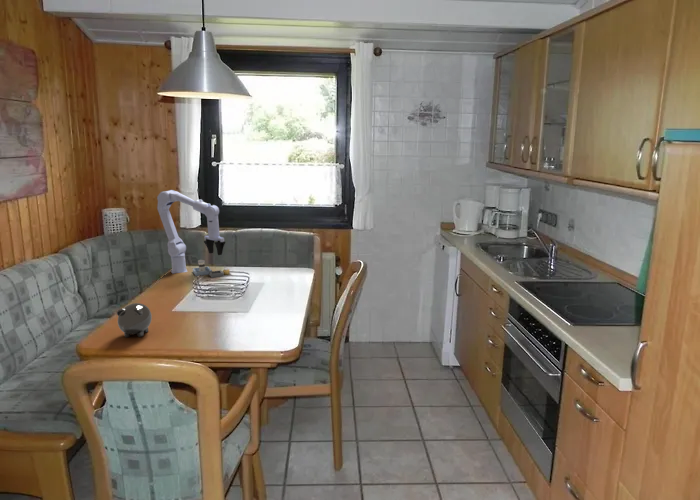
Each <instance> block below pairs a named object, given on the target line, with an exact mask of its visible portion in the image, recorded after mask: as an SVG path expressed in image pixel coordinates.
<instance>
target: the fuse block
mask: <svg viewBox="0 0 700 500" xmlns="http://www.w3.org/2000/svg"><path fill="white" fill-rule="evenodd" d="M230 276H233V274H232V273H231V272H230V269H229V268H224V269H223V271H222V270H214V271H213V270H212V272H209V277H210V278H212V279H217V278H223V277H230Z"/></svg>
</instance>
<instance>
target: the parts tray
mask: <svg viewBox="0 0 700 500" xmlns="http://www.w3.org/2000/svg"><path fill="white" fill-rule="evenodd" d="M212 271H213V270H212V269H211V268H210V267H209V266H205V271H201V272H199V267H194V268H192V273H193V275H195V277H199V275H201V276H208V275H209V272H212ZM209 276H210V275H209Z"/></svg>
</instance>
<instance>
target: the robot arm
mask: <svg viewBox="0 0 700 500" xmlns="http://www.w3.org/2000/svg"><path fill="white" fill-rule="evenodd" d="M156 198H157V212H158V214H159V217H160V220H161V223H162V225H163V228H164V232H165V235H166V236H167V239H168V241H167V244H166V245H167V254H168V255H169V256H170V261H171V268H172V269H170V272H171V273H172V275H174V274H179V273H188V272H189V271H188V269H187V266H186V265H187V264H186V251H187V245H186V244H185V243H184V241H183V239H182V238H180V237H179V234H178V232H177V228H176V225H175V223H174V220H173V217H172V214H171V211H170V208H171V206H172V205H173V203H175V202H180V203H183V204H186V205H188V206H191V207H192V209H193V210H194V211H197V212H199V213H201V214H203V215H205V217H206V221H207V222H206V223H207V233H208V235H204V240H203V243H204V244H205V246H206V247H207V248H206V249H207V250H208V253H209V254H214V245H215V247H216V253H217V255H218V256H222V254H223V251H224V247H225V245H226V241H225V237H223V236H220V225H219V224H220V223H219V214H220V207H218V206H217V205H215V204H212V205H211V203H207V202H205V201H204V200H203V199H202V198H201V199H196V200H194V199H193V198H191V197H189V196H187V195H184V194H183V193H181V192H179V191H176V190H174V189H169V190H164V191H163V190H162V191H160V192H159V193H158V195H157V197H156Z"/></svg>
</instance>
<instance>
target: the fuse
mask: <svg viewBox="0 0 700 500" xmlns="http://www.w3.org/2000/svg"><path fill="white" fill-rule="evenodd" d="M197 262H198V268H199V272H201V271H205V267H206V262H205V259H198V260H197Z"/></svg>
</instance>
